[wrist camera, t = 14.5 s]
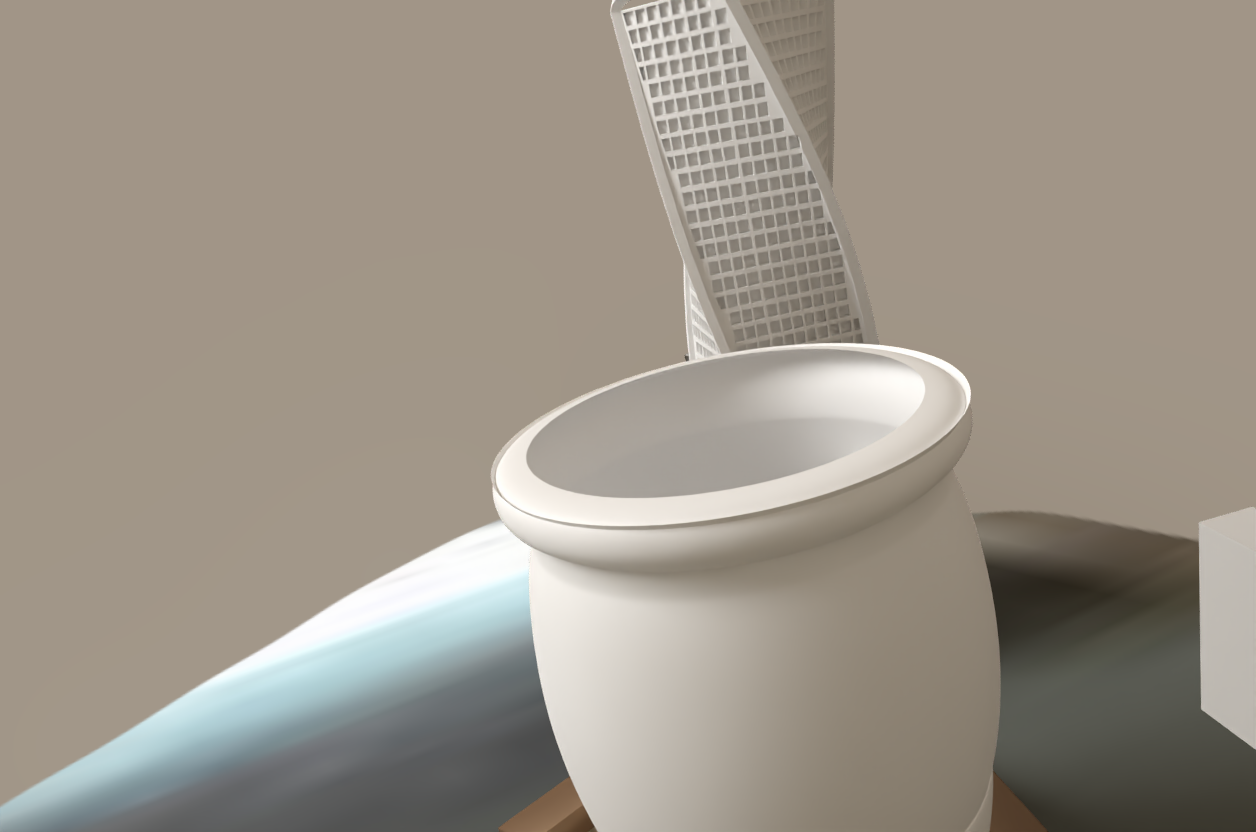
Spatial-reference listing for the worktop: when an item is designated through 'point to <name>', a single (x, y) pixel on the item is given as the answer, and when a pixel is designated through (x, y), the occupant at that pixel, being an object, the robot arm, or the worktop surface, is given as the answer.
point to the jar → (763, 594)
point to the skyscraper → (747, 168)
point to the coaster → (564, 828)
